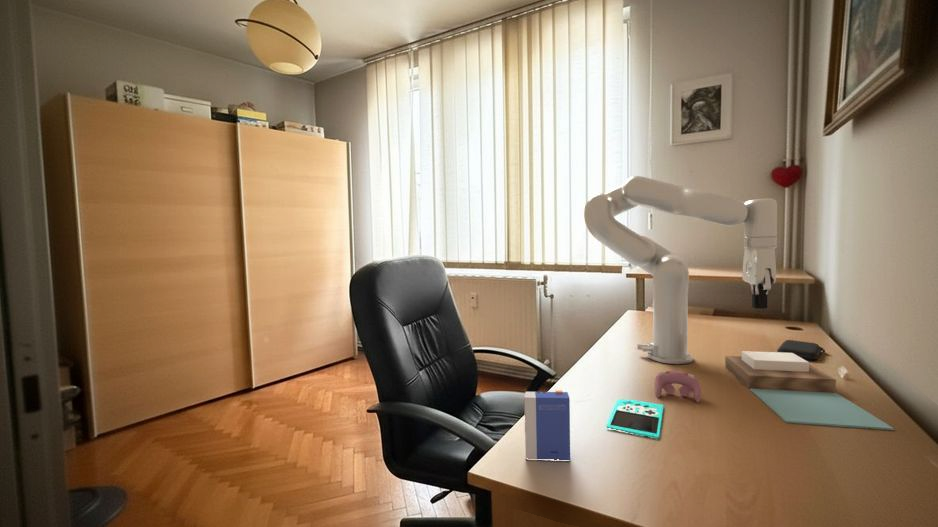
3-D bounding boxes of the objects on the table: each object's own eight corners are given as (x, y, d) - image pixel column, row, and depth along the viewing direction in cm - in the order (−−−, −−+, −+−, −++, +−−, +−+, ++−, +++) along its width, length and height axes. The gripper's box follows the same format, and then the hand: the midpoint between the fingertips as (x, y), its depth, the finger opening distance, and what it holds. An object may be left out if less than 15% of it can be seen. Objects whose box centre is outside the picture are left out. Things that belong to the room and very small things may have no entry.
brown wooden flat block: (749, 389, 101) (749, 375, 101) (725, 367, 117) (725, 355, 116) (835, 393, 97) (835, 379, 97) (798, 371, 112) (799, 358, 112)
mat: (786, 422, 84) (786, 420, 84) (749, 389, 101) (749, 388, 101) (893, 430, 79) (893, 428, 79) (836, 394, 96) (836, 393, 96)
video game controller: (700, 404, 97) (699, 374, 99) (702, 403, 93) (701, 371, 96) (654, 398, 101) (654, 369, 104) (654, 396, 97) (654, 367, 100)
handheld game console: (664, 409, 93) (664, 404, 92) (660, 442, 79) (660, 436, 78) (618, 402, 97) (618, 396, 97) (605, 432, 83) (605, 425, 83)
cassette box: (754, 369, 105) (754, 360, 105) (741, 359, 113) (741, 351, 113) (808, 371, 102) (809, 362, 102) (792, 361, 110) (792, 352, 110)
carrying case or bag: (821, 364, 118) (826, 352, 128) (821, 354, 118) (826, 343, 128) (775, 357, 125) (783, 346, 136) (776, 347, 125) (784, 337, 136)
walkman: (568, 453, 75) (567, 390, 74) (570, 462, 72) (569, 396, 71) (524, 452, 76) (523, 389, 75) (525, 460, 73) (523, 395, 72)
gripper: (734, 243, 123) (734, 303, 124) (756, 244, 108) (756, 313, 110) (763, 242, 121) (762, 303, 122) (789, 243, 106) (788, 313, 108)
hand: (759, 307), depth 116 cm, fingers closed
